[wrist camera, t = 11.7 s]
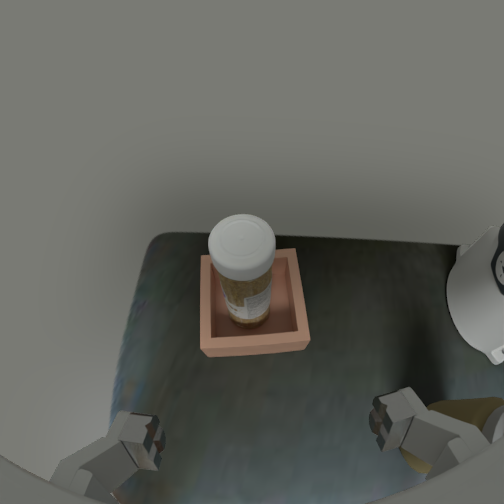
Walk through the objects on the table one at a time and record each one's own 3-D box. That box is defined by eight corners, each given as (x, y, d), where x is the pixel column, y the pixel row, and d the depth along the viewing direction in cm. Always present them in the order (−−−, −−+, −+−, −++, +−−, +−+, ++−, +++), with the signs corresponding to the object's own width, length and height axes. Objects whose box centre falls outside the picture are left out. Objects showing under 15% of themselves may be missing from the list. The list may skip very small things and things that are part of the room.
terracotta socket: (291, 266, 33) (295, 248, 30) (304, 349, 28) (310, 340, 24) (207, 273, 33) (201, 255, 29) (208, 357, 27) (200, 348, 24)
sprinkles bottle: (221, 303, 30) (196, 227, 19) (257, 284, 31) (254, 202, 20) (241, 338, 28) (225, 279, 17) (278, 317, 29) (289, 247, 18)
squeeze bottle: (456, 431, 20) (576, 409, 5) (411, 482, 18) (528, 505, 3) (425, 389, 24) (547, 341, 8) (375, 439, 21) (497, 447, 6)
